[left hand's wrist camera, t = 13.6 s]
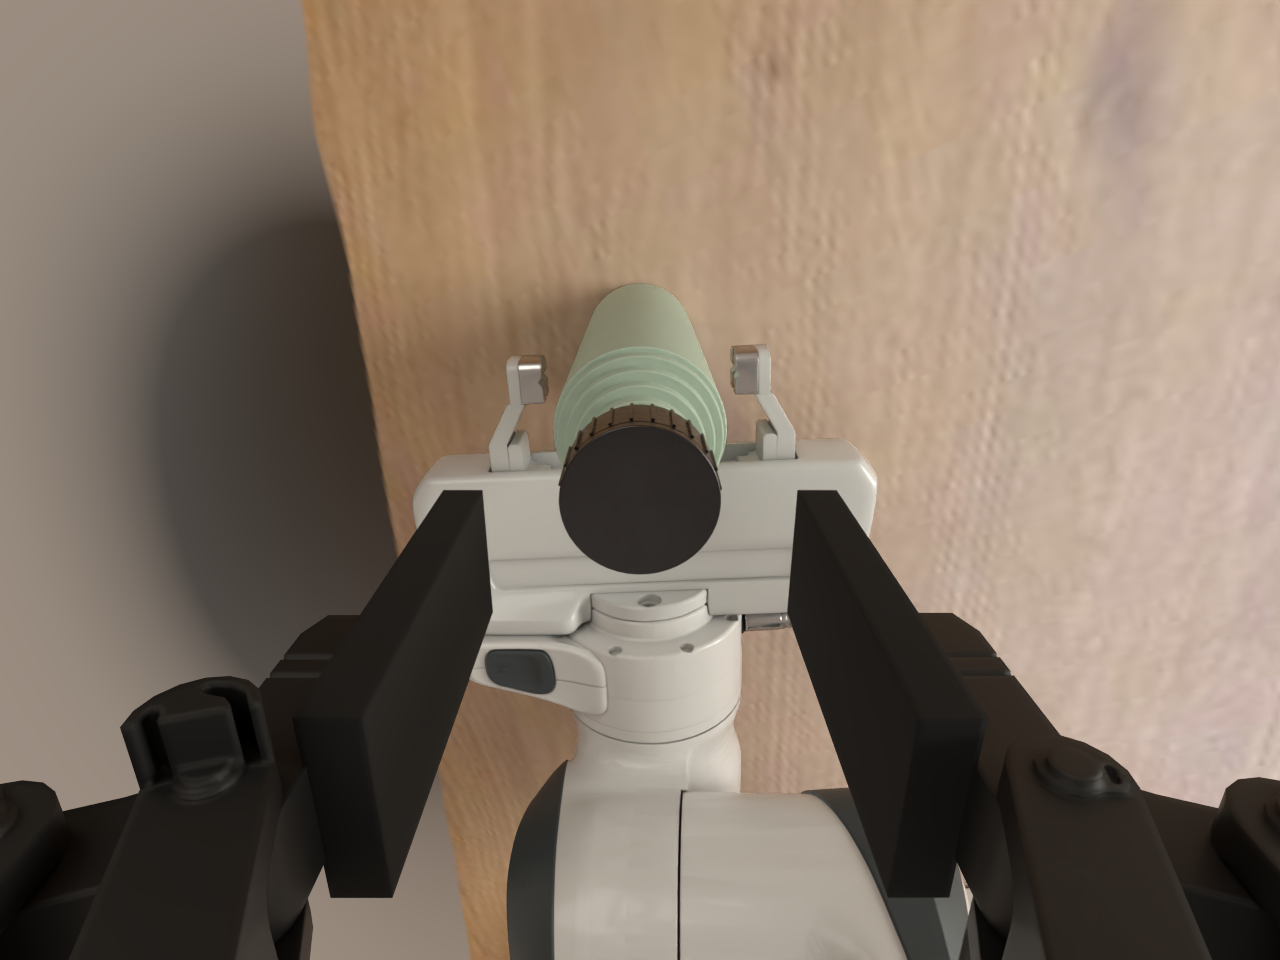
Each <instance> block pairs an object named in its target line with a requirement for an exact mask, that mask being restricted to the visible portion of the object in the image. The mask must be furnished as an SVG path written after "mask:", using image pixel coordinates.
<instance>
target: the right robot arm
mask: <svg viewBox="0 0 1280 960" xmlns="http://www.w3.org/2000/svg"><path fill="white" fill-rule="evenodd" d="M731 361H732V363H733V364H734V365H733V367H732V368H731V386H732V388H734V392H735V394H755V396H756V398H757V400H758V401H759V403H760V405H761V406H762V408H763V410H764V411H765V413H766V415H767V416H768V418H769V422H768V421H767V420H758V421H757V422H756V441H754V442H731V443H725V448H724V452H723V455H722V458H721V460H720V462H719V465H718V467H717V468H718V471H717V472H718V475H719V479H720V482H721V486H722V490H720V491H721V509H720V515H719V518H718V522H717V525H716V527H715V529H714V531H713V533H712V535H711V537H710V538H709V540H708V541H707V543H706V544H705V545H704V546H703V547H702V549H701V550H699V551H698V552H697V553H696V554H695V555H694V556H693V557H691V558H690V559H689V560H687V561H686V562H684V563H682V564H680V565H679V566H677V567H674V568H672V569H669V570H666V571H663V572H659V573H653V574H641V575H636V574H626V573H621V572H617V571H614V570H611V569H608V568H606V567H604V566H601V565H599V564H598V563H596V562H594V561H593V560H591V559H590V558H589V557H587V556H586V555H585V554H584V553H582V552H581V551H580V549H579V548H578V547H577V546H576V545H575V544H574V543H573V541H572V540H571V538H570V537H569V535H568V533H567V531H566V530H565V527H564V525H563V522H562V519H561V515H560V510H559V490H560V486H558V484H559V480H560V476H561V473H562V469H563V466H562V464H561V463H560V460H559V458H558V455H557V452H556V450H549V451H530V447H529V439H528V432H527V431H525V430H518V431H517V432H516V433H515V428H516V426H517V424H518V421H519V419H520V417H521V415H522V413H523V411H524V409H525V407H526V404H537V403H544V402H545V400H546V397H547V396H548V394H549V386H548V378H547V376H546V375H545V374H544V372H545V370H546V368H547V365H546V358H545V355H523V356H522V355H519V356H511V357H510V358H509V359H508V361H507V365H506V374H507V383H508V392H509V400H510V402H509V403H508V405H507V407H506V409H505V411H504V413H503V415H502V418H501V420H500V422H499V424H498V426H497V428H496V430H495V433H494V435H493V437H492V439H491V441H490V443H489V453H481V454H458V455H446V456H443V457H441V458H440V459H438V460H437V461H436V462H435V464H434V465H433V466H432V467H431V468H430V469H429V470H428V471H427V472H426V474H425V475H424V477H423V478H422V480H421V481H420V483H419V484H418V486H417V488H416V490H415V493H414V496H413V513H414V520H415V525H416V530H417V529H418V527H419V526H420V524H421V523H422V521H423V520H424V518H425V517H426V515H427V514H428V512H429V511H430V509H431V508H432V506H433V505H434V503H435V502H436V500H437V499H438V497H439V496H440V494H441V493H442V491H443V490H483V501H484V513H485V525H486V536H487V548H488V560H489V571H490V583H491V595H492V607H493V613H492V616H491V619H490V622H489V625H488V628H487V630H486V633H485V636H484V639H483V642H482V645H481V647H480V650H479V653H478V656H477V659H476V662H475V664H474V667H473V670H472V673H471V676H470V679H469V680H471V681H473V682H475V683H477V684H480V685H484V686H488V687H492V688H497V689H501V690H506V691H510V692H515V693H519V694H523V695H527V696H531V697H535V698H538V699H542V700H546V701H549V702H552V703H555V704H558V705H561V706H564V707H567V708H570V710H571V712H572V715H573V717H574V720H575V723H576V726H577V739H576V742H575V747H574V758H573V759H572V760H571V761H568V760H566V761H565V762H563V763H562V764H561V765H560V766H559V767H558V768H557V769H556V770H555V771H554V773H553V774H552V775H551V776H550V777H549V779H548V780H547V781H546V783H545V784H544V785H543V787H542V788H541V789H540V791H539V792H538V793H537V795H536V796H535V798H534V799H533V800H532V801H531V803H530V804H529V806H528V808H527V810H526V811H525V813H524V815H523V818H522V820H521V822H520V825H519V827H518V830H517V833H516V836H515V840H514V844H513V849H512V853H511V859H510V864H509V871H508V880H507V927H508V941H509V951H510V960H959V953H960V949H961V945H962V941H963V936H964V932H965V928H966V923H967V919H968V915H969V910H970V906H971V902H972V897H973V895H972V893H971V891H970V888H965V886H964V883H963V880H962V877H961V874H960V871H959V867H958V864H957V865H956V869H955V874H954V878H953V883H952V888H951V892H950V897H949V898H888V897H887V894H886V892H885V889H884V886H883V883H882V880H881V877H880V875H879V872H878V869H877V866H876V863H875V860H874V858H873V855H872V852H871V849H870V846H869V843H868V841H867V838H866V835H865V832H864V829H863V826H862V823H861V821H860V818H859V815H858V812H857V809H856V806H855V804H854V801H853V798H852V795H851V792H850V789H849V788H836V789H821V790H807V791H803V792H802V793H800V794H790V793H744V792H740V781H741V751H740V745H739V741H738V737H737V735H736V732H735V729H734V725H733V722H734V718H735V716H736V713H737V711H738V707H739V703H740V699H741V682H742V677H741V676H742V636H741V633H743V631H760V630H777V629H784V628H786V627H787V628H791V627H792V625H791V622H790V619H789V616H788V613H787V606H788V595H789V583H790V571H791V560H792V548H793V536H794V525H795V513H796V501H797V490H837V491H838V493H839V494H840V496H841V497H842V499H843V500H844V502H845V503H846V505H847V506H848V508H849V509H850V511H851V512H852V514H853V515H854V517H855V518H856V520H857V521H858V523H859V524H860V526H861V527H862V529H863V530H864V532H865V533H866V535H867V536H868V538H869V535H870V531H871V526H872V520H873V515H874V509H875V502H876V495H877V476H876V474H875V471H874V469H873V468H872V466H871V464H870V463H869V462H868V460H867V459H866V458H865V457H864V455H863V454H862V453H861V452H860V451H859V450H858V449H856V448H855V447H854V446H853V445H852V444H851V443H850V442H849V441H847V440H846V439H843V438H822V439H799V440H796V432H795V430H794V428H793V427H792V425H791V423H790V421H789V420H788V418H787V416H786V415H785V413H784V411H783V409H782V408H781V406H780V404H779V403H778V401H777V399H776V397H775V396H774V394H773V392H772V391H771V389H770V379H771V356H770V350H769V348H768V347H767V346H766V345H765V344H760V345H741V346H731ZM970 960H971V959H970Z"/></svg>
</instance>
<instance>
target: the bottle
mask: <svg viewBox="0 0 1280 960" xmlns="http://www.w3.org/2000/svg"><path fill="white" fill-rule="evenodd" d="M630 403H634V405H639V404H643V405H651V403H652V404H654V406H658V407H662V408H665V409H668V410H671V409H673V410H674V412H675V413H677V414H678V415H680V416H682V417H683V418H685V419H686V420H688V419H689V420H691V423H692V425H693V426H694V427H695V428H696V429H697V430H698V431H699V432H700V434H702V433H703V434H704V436H705V439H706V443H707V445H708V447H709V450H712V451H713V454H714V457H715V461H716V464H717V467H718V465H719V462H720V460H721V458H722V455H723V452H724V448H725V443H726V436H727V422H726V415H725V410H724V407H723V403H722V400H721V398H720V395H719V393H718V390H717V388H716V385H715V383H714V380H713V378H712V375H711V373H710V370H709V368H708V365H707V362H706V360H705V357H704V355H703V352H702V350H701V347H700V345H699V342H698V340H697V337H696V335H695V332H694V330H693V327H692V325H691V322H690V320H689V317H688V315H687V312H686V311H685V309H684V307H683V306H682V304H681V303H680V302H679V301H678V300H677V299H676V298H675V297H674V296H673V295H672V294H671V293H669V292H668V291H666V290H664V289H662V288H660V287H657V286H654V285H650V284H642V283H639V284H630V285H626V286H623V287H620V288H618V289H616V290H614V291H612V292H611V293H609V294H608V295H607V296H606V297H605V298H603V300H602V301H601V302H600V303H599V304H598V306H597V307H596V309H595V311H594V313H593V315H592V317H591V319H590V322H589V324H588V327H587V330H586V332H585V335H584V337H583V340H582V342H581V345H580V347H579V350H578V352H577V355H576V357H575V360H574V362H573V365H572V367H571V370H570V372H569V375H568V377H567V380H566V382H565V385H564V388H563V390H562V393H561V395H560V398H559V400H558V403H557V406H556V410H555V415H554V422H553V436H554V444H555V448H556V452H557V455H558V458H559V460H560V463H561V464H562V466H563V465H564V462H565V458H566V455H567V451H568V448H569V446H571V447H572V445H573V443H574V441H575V439H576V438H577V434H578V431H579V430H581V431H582V430H583V429H584V428H585V427H586V426H587V425H588V424H589V423H590V422H591V421H592V418H593V417H596V418H597V417H598V416H600V415H602V414H603V413H605V412H608V411H610V408H612V407H613V408H614V409H615V408H618V407H622V406H628V405H630Z"/></svg>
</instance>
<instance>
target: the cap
mask: <svg viewBox="0 0 1280 960" xmlns="http://www.w3.org/2000/svg"><path fill="white" fill-rule="evenodd" d="M717 471H718V468H717V464H716V461H715V457H714V454H713V451H712V450H709V447H708V445H707V443H706V439H705V436H704V434H703V433H702V434H700V432H699V431H698V430H697V429H696V428H695V427H694V426H693V425H692V423H691V420H689V419H688V420H686V419H685V418H683V417H682V416H680V415H678V414H677V413H675V412H674V410H673V409H671V410H668V409H665V408H662V407H658V406H654V404H652V403H651V405H643V404H639V405H634V403H630V405H628V406H622V407H618V408H615V409H614V408H613V407H612V408H610V411H608V412H605V413H603V414H602V415H600V416H598V417H597V418H596V417H593V418H592V421H591V422H590V423H589V424H588V425H587V426H586V427H585V428H584V429H583V430H582V431H581V430H579V431H578V434H577V438H576V439H575V441H574V443H573V445H572V447H571V446H569V448H568V451H567V455H566V458H565V462H564V465H563V469H562V473H561V476H560V480H559V484H558V486H560V490H559V510H560V515H561V519H562V522H563V525H564V527H565V530H566V531H567V533H568V535H569V537H570V538H571V540H572V541H573V543H574V544H575V545H576V546H577V547H578V548H579V549H580V551H581V552H582V553H584V554H585V555H586V556H587V557H589V558H590V559H591V560H593V561H594V562H596V563H598V564H599V565H601V566H604V567H606V568H608V569H611V570H614V571H617V572H621V573H626V574H636V575H641V574H653V573H659V572H663V571H666V570H669V569H672V568H674V567H677V566H679V565H680V564H682V563H684V562H686V561H687V560H689V559H690V558H691V557H693V556H694V555H695V554H696V553H697V552H698V551H699V550H701V549H702V547H703V546H704V545H705V544H706V543H707V541H708V540H709V538H710V537H711V535H712V533H713V531H714V529H715V527H716V525H717V522H718V518H719V515H720V509H721V491H720V490H722V486H721V482H720V479H719V475H718V472H717Z"/></svg>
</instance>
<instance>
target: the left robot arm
mask: <svg viewBox="0 0 1280 960" xmlns="http://www.w3.org/2000/svg"><path fill="white" fill-rule="evenodd" d="M492 613H493V607H492V595H491V583H490V571H489V560H488V548H487V536H486V525H485V513H484V501H483V490H443V491H442V493H441V494H440V496H439V497H438V499H437V500H436V502H435V503H434V505H433V506H432V508H431V509H430V511H429V512H428V514H427V515H426V517H425V518H424V520H423V521H422V523H421V524H420V526H419V527H418V529H417V530H416V532H415V533H414V535H413V536H412V538H411V539H410V541H409V542H408V544H407V545H406V547H405V548H404V550H403V551H402V553H401V554H400V556H399V557H398V559H397V560H396V562H395V563H394V565H393V566H392V568H391V569H390V571H389V572H388V574H387V575H386V577H385V578H384V580H383V581H382V583H381V584H380V586H379V587H378V589H377V590H376V592H375V593H374V595H373V596H372V598H371V599H370V601H369V602H368V604H367V605H366V607H365V608H364V610H363V611H362V613H361V614H360V615H328V616H327V617H325V618H324V619H322V620H321V621H319V622H318V623H316V624H315V625H313V626H312V627H310V628H309V629H307V630H306V631H304V632H303V633H301V634H300V636H299V637H298V638H297V640H296V641H295V642H294V643H293V645H292V646H291V647H290V649H289V650H288V651H287V652H286V654H285V655H284V660H280V662H279V663H278V664H277V665H276V667H275V668H274V669H273V671H272V672H271V673H270V678H267V679H266V680H265V681H264V682H263V683H262V685H261V686H260V687H259V688H257V687H256V686H255V685H254V684H253V683H251V682H250V681H249V680H246V679H241V678H236V677H231V676H225V677H210V678H203V679H199V680H195V681H192V682H188V683H184V684H180V685H178V686H176V687H173V688H171V689H169V690H167V691H165V692H162V693H160V694H158V695H156V696H154V697H152V698H151V699H150V700H148V701H147V702H145V703H144V704H143V705H141V706H140V707H138V708H137V709H135V710H134V711H133V712H132V713H131V715H130V716H129V717H128V718H127V720H126V721H125V722H124V723H123V724H122V726H121V727H120V728H121V732H122V735H123V738H124V741H125V744H126V747H127V750H128V753H129V756H130V759H131V762H132V765H133V769H134V772H135V775H136V778H137V781H138V784H139V787H140V791H139V793H138V794H134V795H131V796H128V797H124V798H120V799H115V800H111V801H106V802H102V803H97V804H93V805H89V806H85V807H80V808H76V809H71V810H67V811H62V809H61V806H60V803H59V801H58V798H57V795H56V793H55V791H54V790H52V789H51V788H50V787H48V786H47V785H46V784H44V783H42V782H33V781H23V780H22V781H16V782H10V783H4V784H0V960H310V951H311V941H312V932H313V924H312V917H311V911H310V906H309V902H308V896H309V894H310V892H311V890H312V888H313V886H314V884H315V882H316V880H317V877H318V875H319V873H320V871H321V869H322V867H323V865H324V869H325V874H326V879H327V883H328V888H329V892H330V897H331V898H392V897H393V894H394V892H395V889H396V886H397V883H398V880H399V877H400V875H401V872H402V869H403V866H404V863H405V860H406V857H407V855H408V852H409V849H410V846H411V843H412V840H413V838H414V835H415V832H416V829H417V826H418V823H419V821H420V818H421V815H422V812H423V809H424V806H425V803H426V801H427V798H428V795H429V792H430V789H431V787H432V784H433V781H434V778H435V775H436V772H437V770H438V767H439V764H440V761H441V758H442V755H443V752H444V750H445V747H446V744H447V741H448V738H449V735H450V733H451V730H452V727H453V724H454V721H455V718H456V716H457V713H458V710H459V707H460V704H461V701H462V699H463V696H464V693H465V690H466V687H467V684H468V681H469V679H470V676H471V673H472V670H473V667H474V664H475V662H476V659H477V656H478V653H479V650H480V647H481V645H482V642H483V639H484V636H485V633H486V630H487V628H488V625H489V622H490V619H491V616H492ZM787 613H788V616H789V619H790V622H791V625H792V628H793V630H794V633H795V636H796V639H797V642H798V645H799V647H800V650H801V653H802V656H803V659H804V662H805V664H806V667H807V670H808V673H809V676H810V679H811V681H812V684H813V687H814V690H815V693H816V696H817V699H818V701H819V704H820V707H821V710H822V713H823V716H824V718H825V721H826V724H827V727H828V730H829V733H830V735H831V738H832V741H833V744H834V747H835V750H836V752H837V755H838V758H839V761H840V764H841V767H842V770H843V772H844V775H845V778H846V781H847V784H848V787H849V789H850V792H851V795H852V798H853V801H854V804H855V806H856V809H857V812H858V815H859V818H860V821H861V823H862V826H863V829H864V832H865V835H866V838H867V841H868V843H869V846H870V849H871V852H872V855H873V858H874V860H875V863H876V866H877V869H878V872H879V875H880V877H881V880H882V883H883V886H884V889H885V892H886V894H887V897H888V898H949V897H950V892H951V888H952V883H953V878H954V874H955V869H956V865H957V863H958V865H959V867H960V870H961V872H962V874H963V876H964V878H965V880H966V882H967V884H968V886H969V888H970V891H971V893H972V895H973V897H972V902H971V906H970V910H969V915H968V919H967V923H966V928H965V932H964V936H963V941H962V945H961V949H960V953H959V960H970V959H971V960H1280V781H1278V780H1272V779H1266V778H1260V777H1257V778H1247V779H1238V780H1237V781H1235V782H1234V783H1233V784H1231V785H1230V786H1229V787H1227V788H1226V790H1225V793H1224V795H1223V798H1222V801H1221V803H1220V806H1219V808H1214V807H1210V806H1205V805H1201V804H1197V803H1192V802H1188V801H1183V800H1179V799H1174V798H1170V797H1166V796H1161V795H1157V794H1153V793H1150V792H1146V791H1143V790H1141V789H1140V788H1139V786H1138V785H1137V783H1136V782H1135V780H1134V779H1133V777H1132V776H1131V775H1130V773H1129V772H1128V770H1126V769H1125V768H1124V767H1123V766H1121V765H1120V764H1119V763H1118V762H1116V761H1115V760H1114V759H1113V758H1111V757H1110V756H1109V755H1108V754H1106V753H1104V752H1102V751H1100V750H1098V749H1096V748H1094V747H1092V746H1090V745H1088V744H1086V743H1084V742H1081V741H1078V740H1074V739H1071V738H1067V737H1064V736H1061V735H1060V734H1059V733H1058V732H1057V730H1056V729H1055V728H1054V727H1053V725H1052V724H1051V723H1050V721H1049V720H1048V719H1047V717H1046V716H1045V715H1044V714H1043V712H1042V711H1041V710H1040V708H1039V707H1038V706H1037V705H1036V703H1035V702H1034V701H1033V699H1032V698H1031V697H1030V696H1029V694H1028V693H1027V692H1026V690H1025V689H1024V688H1023V687H1022V685H1021V684H1020V683H1019V681H1018V680H1017V679H1016V678H1015V676H1011V674H1010V670H1009V669H1008V667H1007V666H1006V665H1005V663H1004V662H1003V661H1002V660H1001V658H1000V657H997V656H996V652H995V651H994V649H993V648H992V647H991V645H990V644H989V643H988V642H987V640H986V639H985V638H984V636H983V635H982V634H981V633H980V631H978V630H977V629H975V628H974V627H972V626H971V625H969V624H968V623H966V622H965V621H963V620H962V619H960V618H959V617H957V616H956V615H954V614H953V613H918V611H917V610H916V608H915V607H914V605H913V604H912V602H911V601H910V599H909V598H908V596H907V595H906V593H905V592H904V590H903V589H902V587H901V586H900V584H899V583H898V581H897V580H896V578H895V577H894V575H893V574H892V572H891V571H890V569H889V568H888V566H887V565H886V563H885V562H884V560H883V559H882V557H881V556H880V554H879V553H878V551H877V550H876V548H875V547H874V545H873V544H872V542H871V541H870V539H869V538H868V536H867V535H866V533H865V532H864V530H863V529H862V527H861V526H860V524H859V523H858V521H857V520H856V518H855V517H854V515H853V514H852V512H851V511H850V509H849V508H848V506H847V505H846V503H845V502H844V500H843V499H842V497H841V496H840V494H839V493H838V491H837V490H797V501H796V513H795V525H794V536H793V548H792V560H791V571H790V583H789V595H788V606H787Z"/></svg>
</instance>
